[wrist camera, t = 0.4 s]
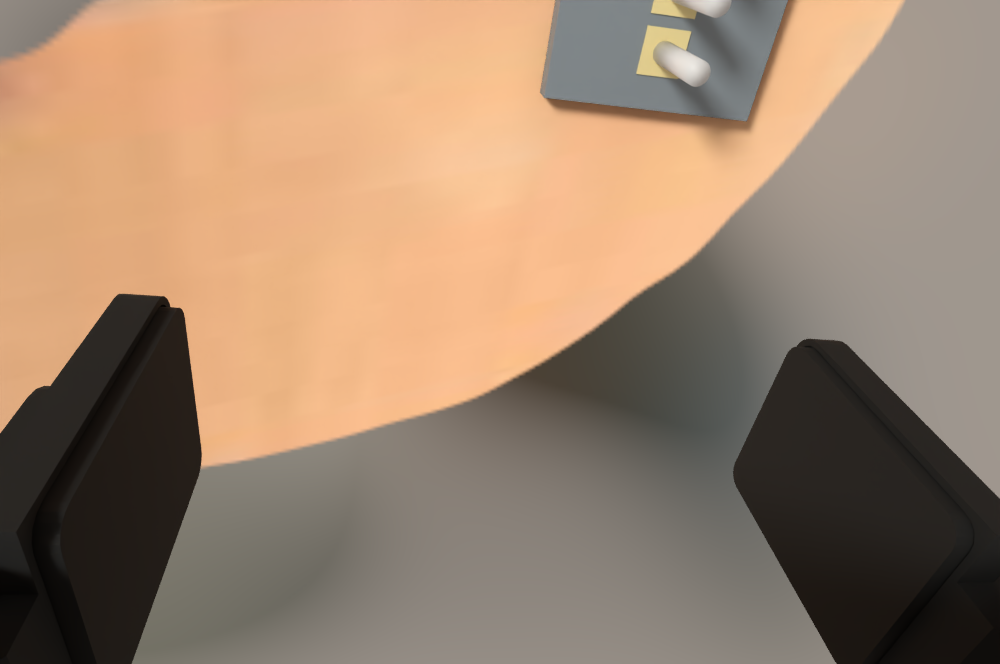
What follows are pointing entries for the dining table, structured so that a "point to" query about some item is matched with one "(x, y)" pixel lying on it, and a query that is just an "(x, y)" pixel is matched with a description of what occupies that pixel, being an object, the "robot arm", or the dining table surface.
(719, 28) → the header board
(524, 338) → the dining table surface
